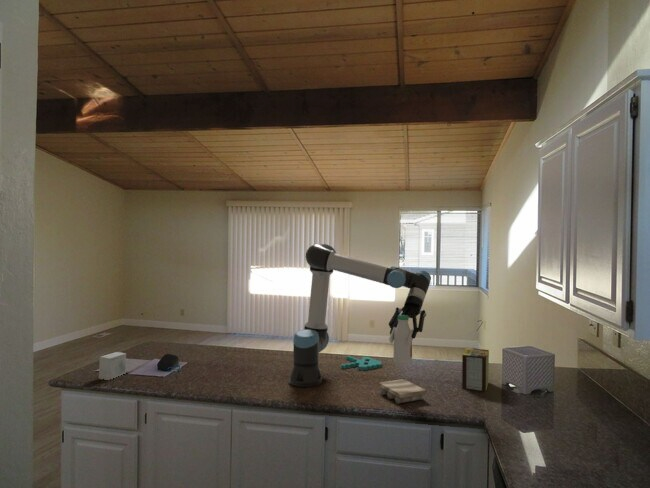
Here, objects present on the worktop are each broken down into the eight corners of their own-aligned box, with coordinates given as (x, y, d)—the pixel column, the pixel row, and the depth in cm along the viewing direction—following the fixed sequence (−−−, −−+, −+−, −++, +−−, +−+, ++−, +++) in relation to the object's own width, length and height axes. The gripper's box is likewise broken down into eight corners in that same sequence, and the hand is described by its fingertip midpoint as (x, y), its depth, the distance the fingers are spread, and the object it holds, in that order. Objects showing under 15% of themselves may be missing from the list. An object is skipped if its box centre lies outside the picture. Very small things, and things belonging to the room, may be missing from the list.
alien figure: (341, 369, 223) (379, 372, 219) (341, 365, 223) (379, 367, 219) (346, 359, 242) (382, 362, 238) (346, 355, 242) (382, 358, 238)
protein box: (488, 382, 204) (489, 349, 204) (486, 392, 190) (486, 357, 190) (465, 379, 208) (466, 347, 208) (461, 388, 194) (462, 354, 194)
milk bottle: (407, 365, 177) (408, 317, 177) (390, 362, 181) (391, 315, 181) (414, 361, 183) (415, 315, 183) (397, 358, 188) (398, 313, 188)
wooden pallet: (378, 393, 186) (378, 382, 187) (403, 389, 192) (403, 379, 192) (400, 405, 172) (400, 394, 172) (426, 400, 178) (426, 390, 178)
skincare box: (109, 380, 198) (109, 358, 198) (98, 379, 200) (98, 356, 200) (126, 374, 208) (126, 352, 208) (115, 372, 210) (116, 351, 210)
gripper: (438, 307, 189) (425, 351, 176) (396, 303, 201) (380, 344, 187) (434, 296, 185) (420, 340, 171) (391, 293, 196) (375, 334, 183)
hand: (399, 342), depth 179 cm, fingers closed on milk bottle, 7 cm apart
